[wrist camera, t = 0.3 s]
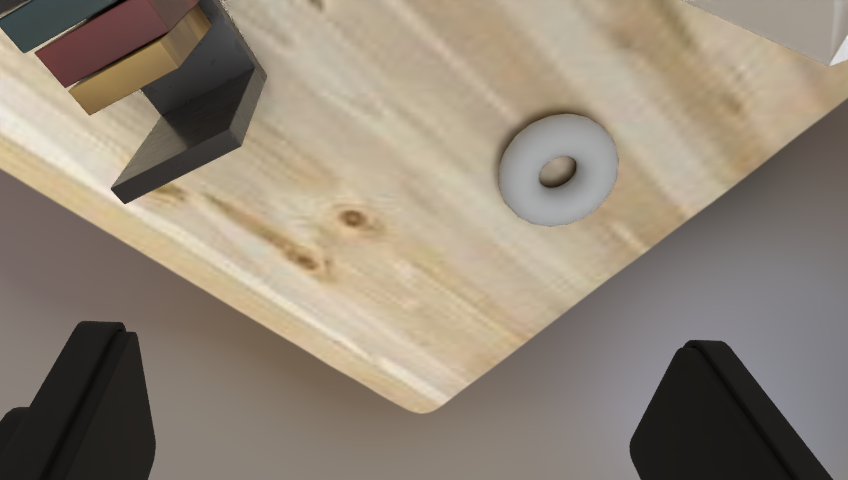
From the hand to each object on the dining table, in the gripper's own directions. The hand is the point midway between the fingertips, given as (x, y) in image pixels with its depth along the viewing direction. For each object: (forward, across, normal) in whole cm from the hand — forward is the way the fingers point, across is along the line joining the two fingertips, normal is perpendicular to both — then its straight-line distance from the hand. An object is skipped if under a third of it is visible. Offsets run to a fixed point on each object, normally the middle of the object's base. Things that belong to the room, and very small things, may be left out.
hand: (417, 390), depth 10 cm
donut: (+36, -17, +12) cm, 41 cm away
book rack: (+36, +13, +4) cm, 38 cm away
